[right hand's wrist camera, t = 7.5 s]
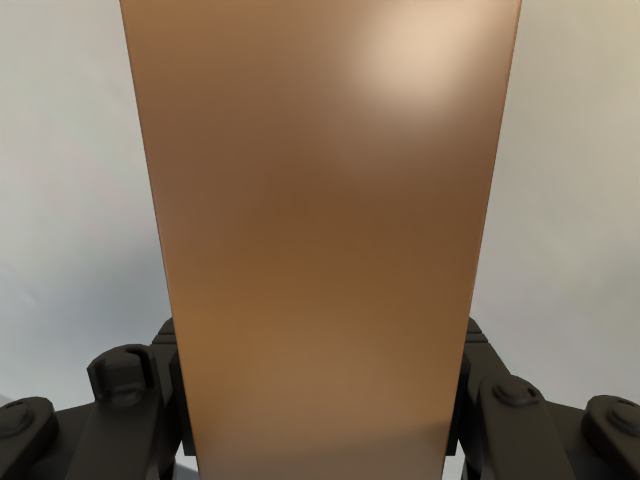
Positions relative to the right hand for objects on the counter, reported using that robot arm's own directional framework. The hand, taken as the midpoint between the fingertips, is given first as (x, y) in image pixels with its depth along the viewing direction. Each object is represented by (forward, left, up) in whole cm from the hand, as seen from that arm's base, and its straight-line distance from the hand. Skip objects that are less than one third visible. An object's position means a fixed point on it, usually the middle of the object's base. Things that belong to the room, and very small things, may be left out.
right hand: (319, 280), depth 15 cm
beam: (-2, -24, -1) cm, 24 cm away
